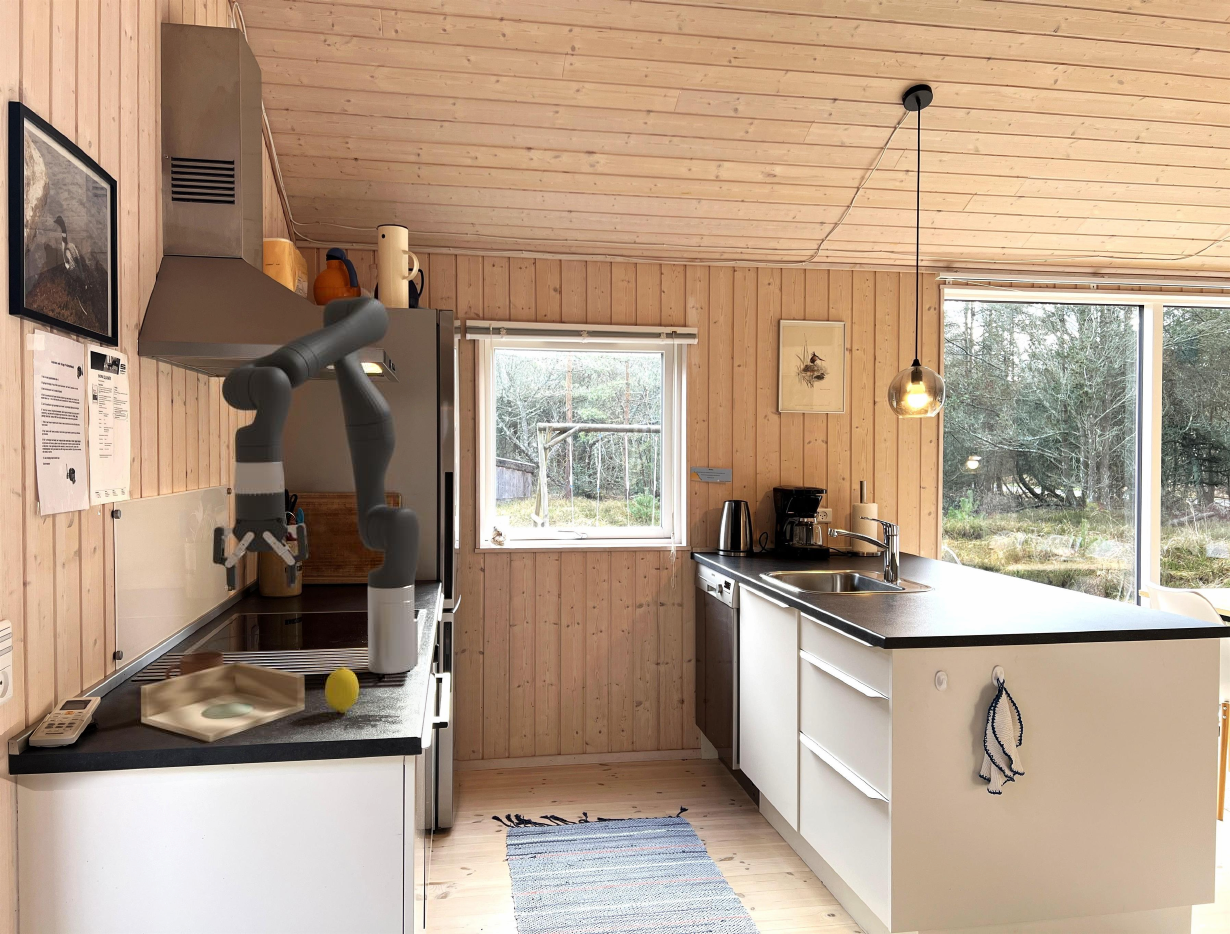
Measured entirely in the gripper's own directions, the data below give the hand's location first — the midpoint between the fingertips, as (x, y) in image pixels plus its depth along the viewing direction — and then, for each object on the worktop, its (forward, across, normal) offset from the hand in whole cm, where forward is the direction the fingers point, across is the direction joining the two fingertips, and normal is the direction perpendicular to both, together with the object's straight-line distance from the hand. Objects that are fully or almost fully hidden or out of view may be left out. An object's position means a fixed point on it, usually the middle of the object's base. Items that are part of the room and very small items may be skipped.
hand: (262, 588), depth 137 cm
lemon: (+23, -12, -3) cm, 26 cm away
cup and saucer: (+23, +16, -23) cm, 36 cm away
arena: (+22, +8, -5) cm, 24 cm away
